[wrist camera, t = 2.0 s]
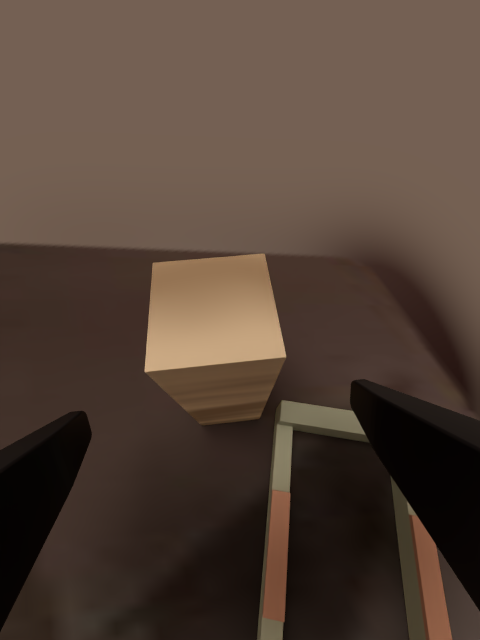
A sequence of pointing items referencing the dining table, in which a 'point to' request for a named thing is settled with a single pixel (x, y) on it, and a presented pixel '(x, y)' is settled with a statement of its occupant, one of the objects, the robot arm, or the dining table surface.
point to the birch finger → (214, 336)
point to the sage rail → (413, 539)
